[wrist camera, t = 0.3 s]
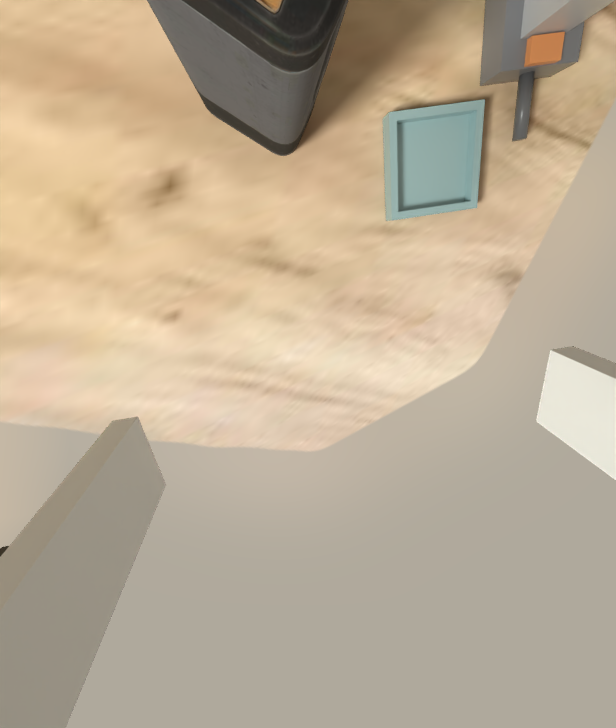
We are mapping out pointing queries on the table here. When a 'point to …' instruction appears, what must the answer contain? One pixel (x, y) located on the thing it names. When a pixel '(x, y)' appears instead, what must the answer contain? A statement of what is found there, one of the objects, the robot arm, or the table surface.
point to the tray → (432, 159)
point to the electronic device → (255, 60)
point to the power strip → (512, 49)
